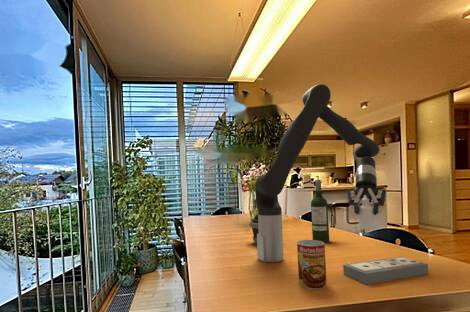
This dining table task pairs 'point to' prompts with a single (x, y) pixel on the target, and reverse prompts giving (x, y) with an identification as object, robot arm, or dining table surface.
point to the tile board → (385, 270)
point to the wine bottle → (319, 215)
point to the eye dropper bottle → (366, 215)
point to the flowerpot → (255, 228)
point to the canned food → (311, 264)
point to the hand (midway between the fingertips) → (366, 213)
